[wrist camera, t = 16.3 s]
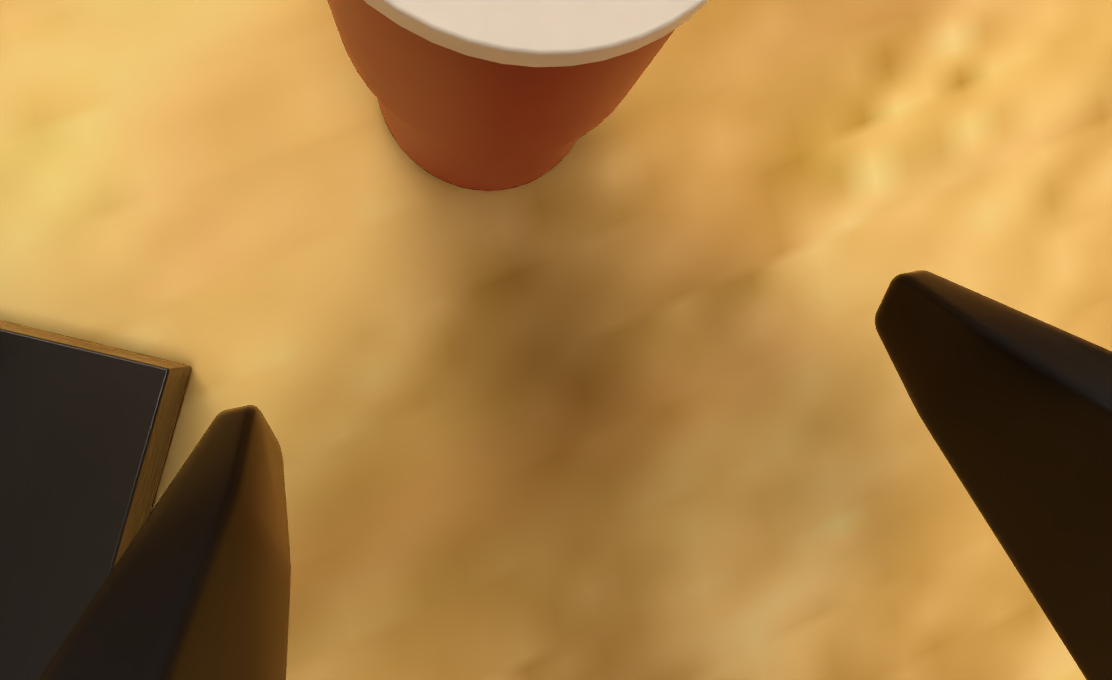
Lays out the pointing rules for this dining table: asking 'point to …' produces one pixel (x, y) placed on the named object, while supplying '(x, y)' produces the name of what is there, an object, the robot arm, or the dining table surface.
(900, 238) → the dining table surface
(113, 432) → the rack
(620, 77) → the red cup with lid
